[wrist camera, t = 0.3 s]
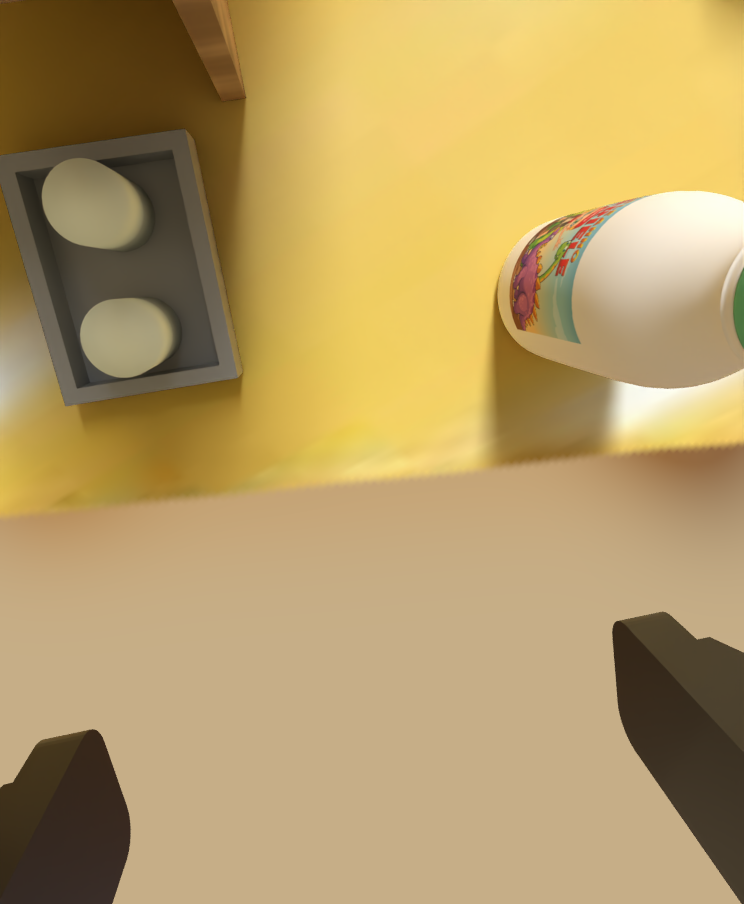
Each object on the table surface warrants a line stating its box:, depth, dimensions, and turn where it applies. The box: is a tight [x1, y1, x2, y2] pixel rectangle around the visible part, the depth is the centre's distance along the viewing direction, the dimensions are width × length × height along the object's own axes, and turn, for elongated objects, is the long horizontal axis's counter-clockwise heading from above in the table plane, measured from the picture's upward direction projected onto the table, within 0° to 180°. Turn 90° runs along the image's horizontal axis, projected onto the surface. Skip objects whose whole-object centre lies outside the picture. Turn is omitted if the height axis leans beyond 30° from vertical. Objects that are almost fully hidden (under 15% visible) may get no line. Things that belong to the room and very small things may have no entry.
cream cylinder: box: [42, 158, 155, 252], centre depth 29 cm, size 4×4×5 cm
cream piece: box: [80, 297, 182, 378], centre depth 31 cm, size 4×4×5 cm
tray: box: [0, 129, 243, 406], centre depth 32 cm, size 12×9×3 cm
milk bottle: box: [498, 191, 744, 389], centre depth 26 cm, size 8×8×20 cm
